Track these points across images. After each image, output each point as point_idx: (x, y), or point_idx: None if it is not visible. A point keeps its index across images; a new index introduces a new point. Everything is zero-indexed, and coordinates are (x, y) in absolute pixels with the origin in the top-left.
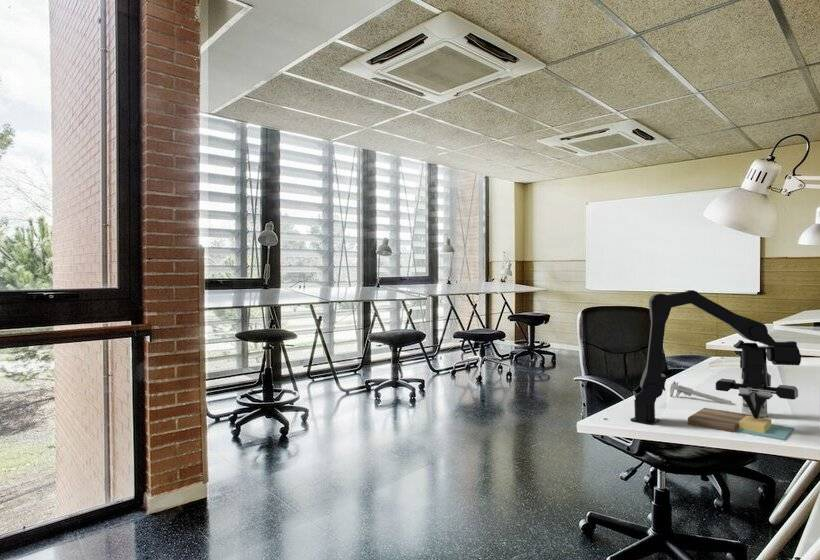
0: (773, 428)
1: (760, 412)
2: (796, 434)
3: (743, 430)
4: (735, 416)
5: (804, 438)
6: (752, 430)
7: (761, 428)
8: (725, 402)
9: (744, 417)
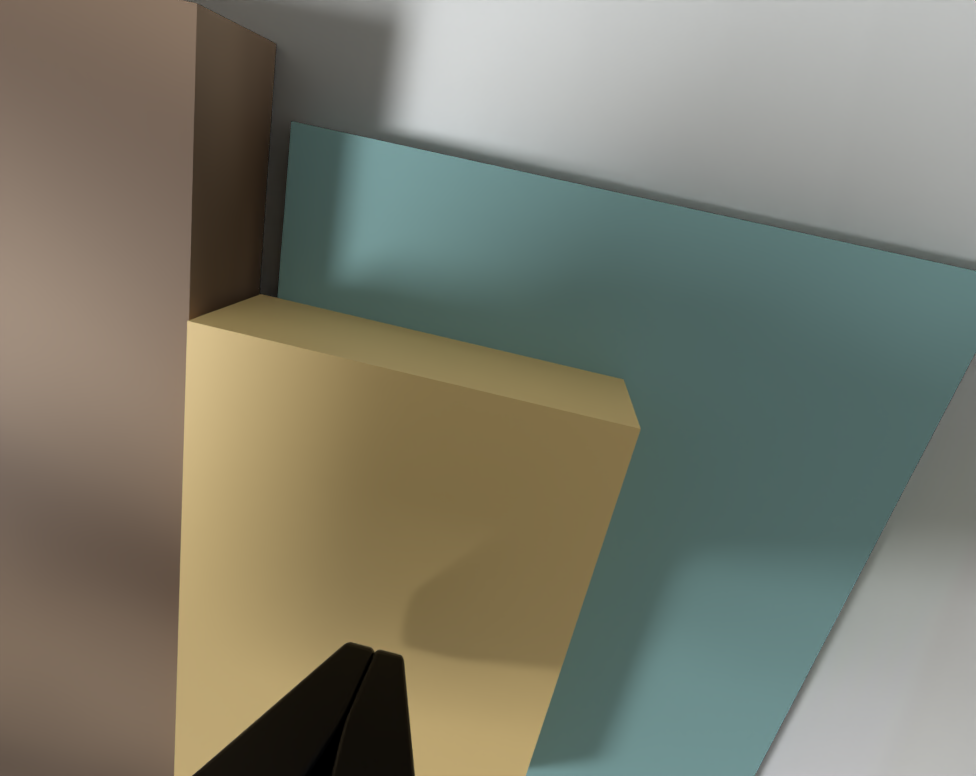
0: (634, 512)
1: (412, 760)
2: (908, 599)
3: None
4: (40, 379)
5: (950, 740)
6: None
7: None
8: None
9: (186, 504)
